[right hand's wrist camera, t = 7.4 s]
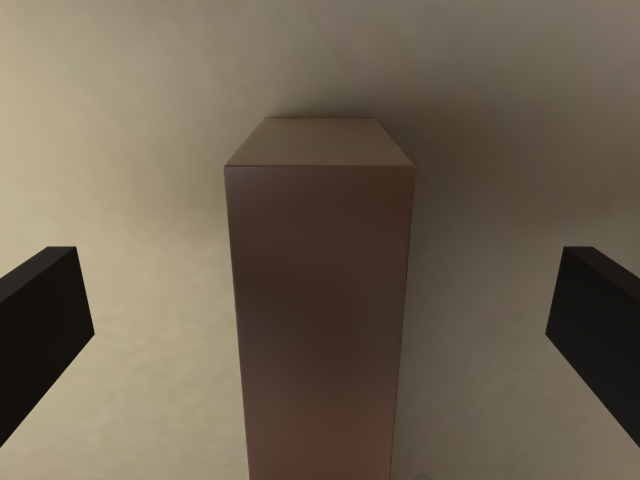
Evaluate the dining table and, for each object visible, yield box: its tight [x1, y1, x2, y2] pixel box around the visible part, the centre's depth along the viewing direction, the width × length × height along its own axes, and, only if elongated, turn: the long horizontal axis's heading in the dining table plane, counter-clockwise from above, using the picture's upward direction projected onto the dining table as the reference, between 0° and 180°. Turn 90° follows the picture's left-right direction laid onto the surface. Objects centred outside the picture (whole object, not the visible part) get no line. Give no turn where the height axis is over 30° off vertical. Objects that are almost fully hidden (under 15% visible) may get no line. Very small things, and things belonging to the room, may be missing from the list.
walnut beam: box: [224, 118, 416, 480], centre depth 18 cm, size 26×4×8 cm, turn 0°
